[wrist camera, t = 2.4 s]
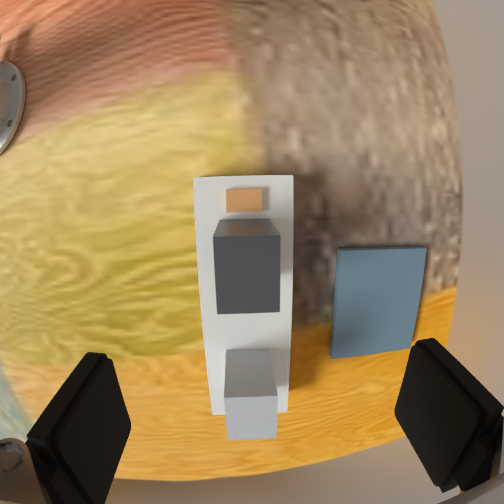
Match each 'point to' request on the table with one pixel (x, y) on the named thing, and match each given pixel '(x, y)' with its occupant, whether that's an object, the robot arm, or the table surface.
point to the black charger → (247, 266)
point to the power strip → (214, 325)
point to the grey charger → (250, 395)
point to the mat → (376, 299)
